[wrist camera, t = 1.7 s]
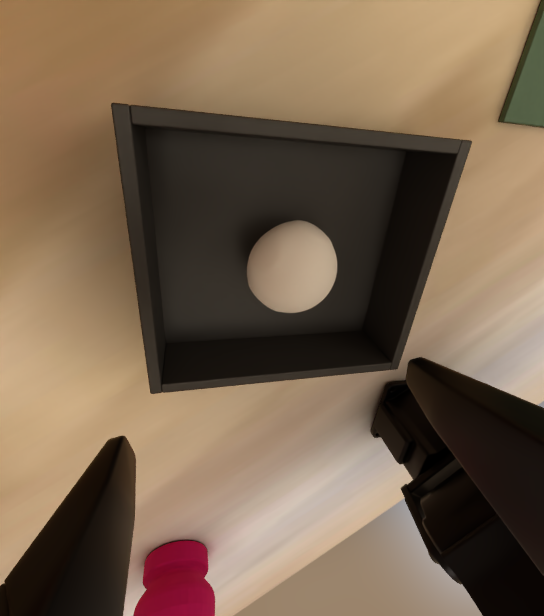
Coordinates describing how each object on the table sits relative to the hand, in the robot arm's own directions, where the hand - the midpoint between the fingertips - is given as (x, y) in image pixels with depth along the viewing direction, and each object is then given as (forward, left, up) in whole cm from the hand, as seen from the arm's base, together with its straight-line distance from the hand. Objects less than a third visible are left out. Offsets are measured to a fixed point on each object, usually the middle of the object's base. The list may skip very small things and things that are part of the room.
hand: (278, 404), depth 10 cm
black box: (-3, -1, -11) cm, 12 cm away
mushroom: (-3, -1, -11) cm, 11 cm away
